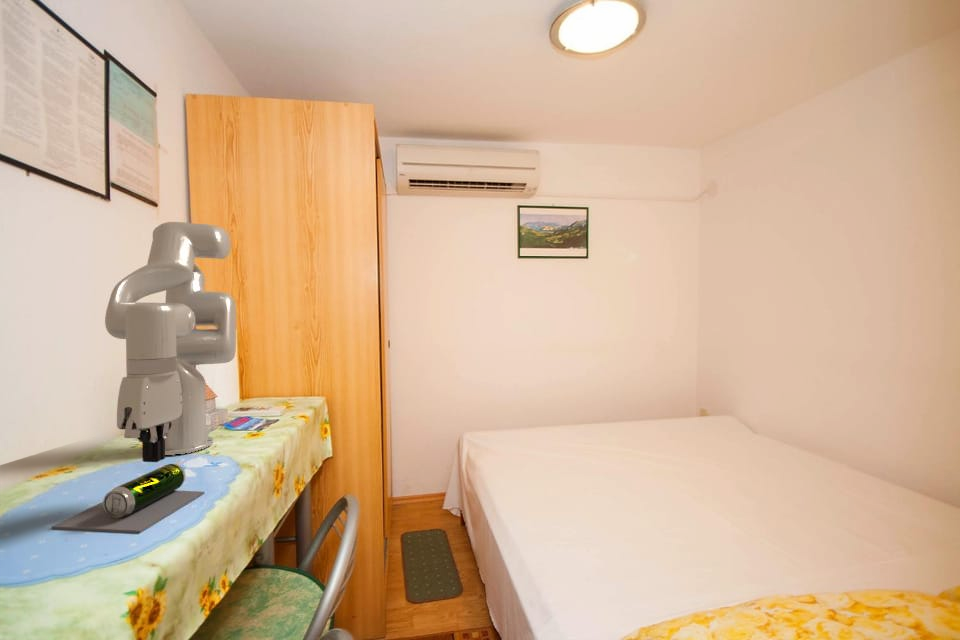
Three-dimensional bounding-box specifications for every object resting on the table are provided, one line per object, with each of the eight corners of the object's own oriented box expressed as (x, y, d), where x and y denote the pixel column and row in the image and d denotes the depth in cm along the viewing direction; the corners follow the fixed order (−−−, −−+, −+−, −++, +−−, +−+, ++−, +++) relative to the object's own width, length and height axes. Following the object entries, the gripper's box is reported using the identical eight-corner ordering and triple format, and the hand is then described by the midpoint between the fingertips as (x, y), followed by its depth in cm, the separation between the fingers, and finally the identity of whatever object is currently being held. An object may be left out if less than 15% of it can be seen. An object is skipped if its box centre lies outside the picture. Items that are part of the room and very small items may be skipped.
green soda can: (184, 491, 81) (126, 522, 69) (160, 484, 81) (99, 514, 69) (189, 466, 80) (132, 493, 69) (165, 459, 81) (104, 485, 69)
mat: (130, 490, 81) (130, 488, 81) (204, 493, 79) (204, 491, 79) (51, 528, 67) (51, 526, 67) (139, 533, 66) (139, 530, 66)
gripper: (167, 361, 84) (168, 446, 85) (94, 373, 69) (96, 476, 70) (200, 362, 84) (201, 447, 84) (134, 373, 69) (136, 477, 69)
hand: (154, 460), depth 77 cm, fingers closed
